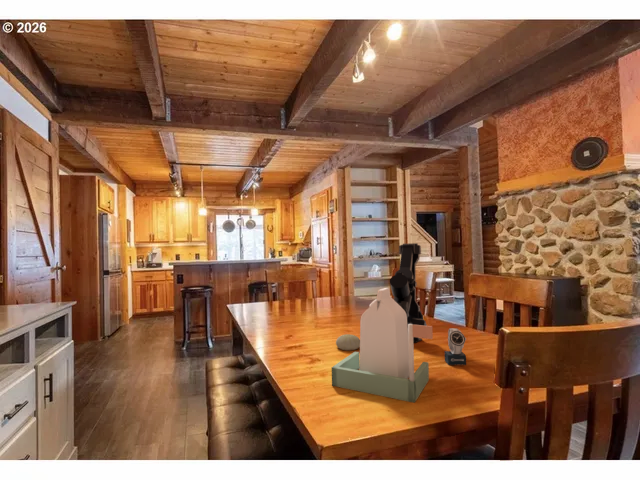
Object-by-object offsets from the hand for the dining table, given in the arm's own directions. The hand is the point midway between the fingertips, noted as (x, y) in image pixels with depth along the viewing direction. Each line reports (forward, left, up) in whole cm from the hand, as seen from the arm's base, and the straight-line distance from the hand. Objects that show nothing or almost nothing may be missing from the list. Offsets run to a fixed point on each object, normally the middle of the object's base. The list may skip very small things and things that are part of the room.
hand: (391, 348), depth 106 cm
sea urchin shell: (-10, -26, -7) cm, 29 cm away
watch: (-20, +11, -7) cm, 24 cm away
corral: (+9, +5, -7) cm, 12 cm away
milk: (+5, +1, -7) cm, 9 cm away
